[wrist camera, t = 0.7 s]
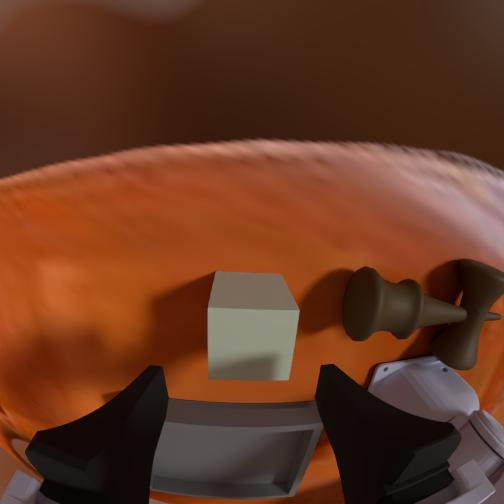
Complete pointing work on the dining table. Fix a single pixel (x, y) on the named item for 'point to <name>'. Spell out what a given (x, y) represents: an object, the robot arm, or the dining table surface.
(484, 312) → the kendama
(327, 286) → the dining table surface
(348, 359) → the dining table surface
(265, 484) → the tray
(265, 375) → the beige block
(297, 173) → the dining table surface
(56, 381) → the dining table surface
